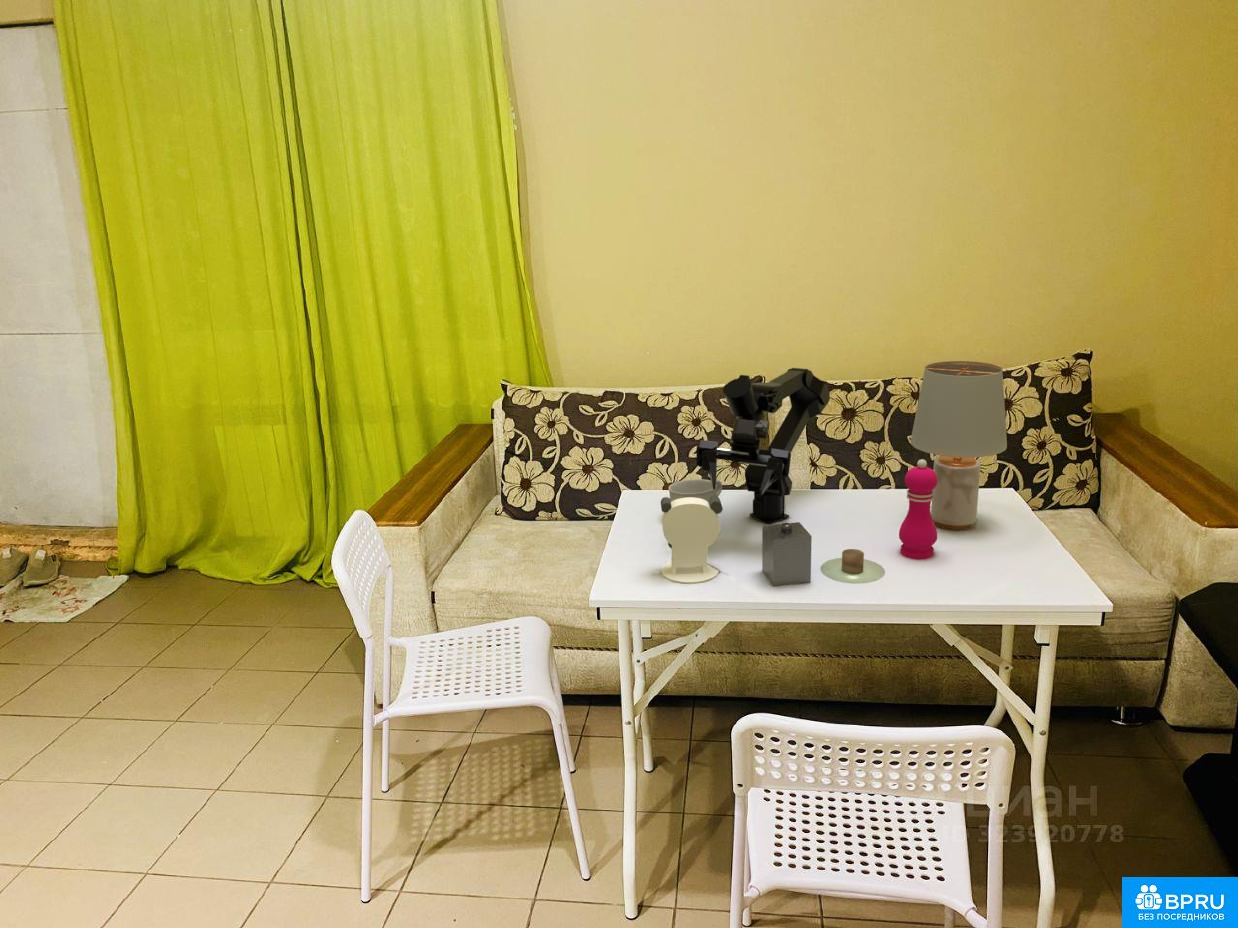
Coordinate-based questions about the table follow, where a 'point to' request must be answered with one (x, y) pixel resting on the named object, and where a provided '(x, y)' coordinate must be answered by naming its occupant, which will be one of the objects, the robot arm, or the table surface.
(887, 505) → the table surface
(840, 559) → the plate
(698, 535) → the panda figurine
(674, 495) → the teacup
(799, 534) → the cover
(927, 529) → the pepper mill
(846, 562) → the wooden cylinder
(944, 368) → the lamp
